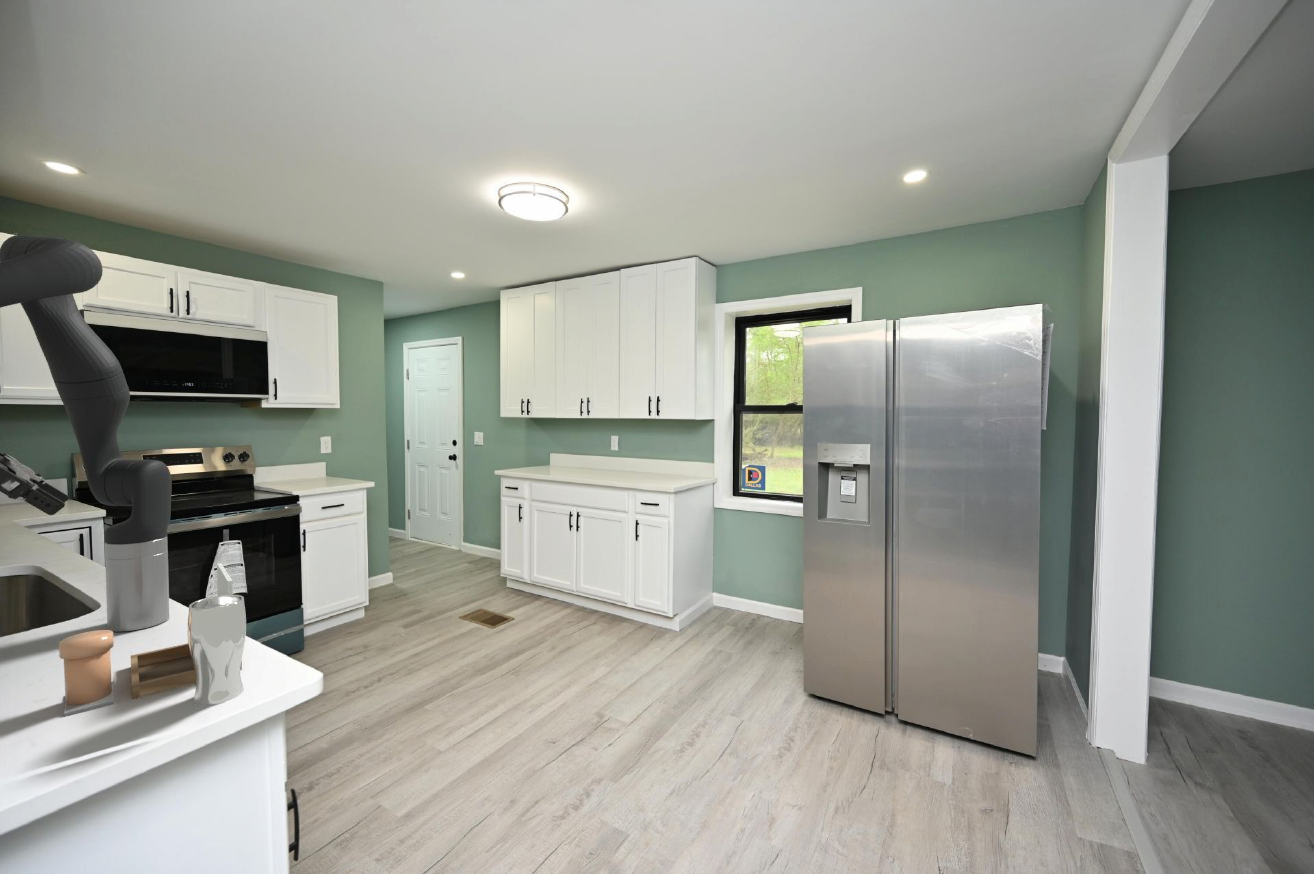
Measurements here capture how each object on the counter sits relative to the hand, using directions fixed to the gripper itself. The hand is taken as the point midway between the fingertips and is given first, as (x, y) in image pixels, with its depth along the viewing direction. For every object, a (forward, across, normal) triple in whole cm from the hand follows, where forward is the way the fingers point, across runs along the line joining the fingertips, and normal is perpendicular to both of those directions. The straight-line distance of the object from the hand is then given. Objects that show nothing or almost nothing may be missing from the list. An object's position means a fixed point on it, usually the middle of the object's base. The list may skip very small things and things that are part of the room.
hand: (61, 506), depth 85 cm
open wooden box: (+30, -5, +10) cm, 32 cm away
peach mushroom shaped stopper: (+21, -8, +18) cm, 29 cm away
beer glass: (+32, -19, +9) cm, 38 cm away
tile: (+22, -8, +18) cm, 30 cm away
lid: (+29, -5, +2) cm, 29 cm away
